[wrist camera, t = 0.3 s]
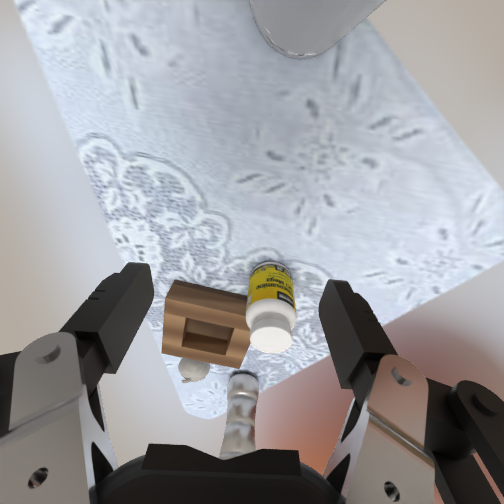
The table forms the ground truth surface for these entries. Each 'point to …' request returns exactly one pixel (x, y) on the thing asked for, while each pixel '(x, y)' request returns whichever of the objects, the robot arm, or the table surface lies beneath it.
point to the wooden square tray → (205, 324)
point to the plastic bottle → (240, 416)
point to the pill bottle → (271, 308)
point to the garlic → (193, 369)
